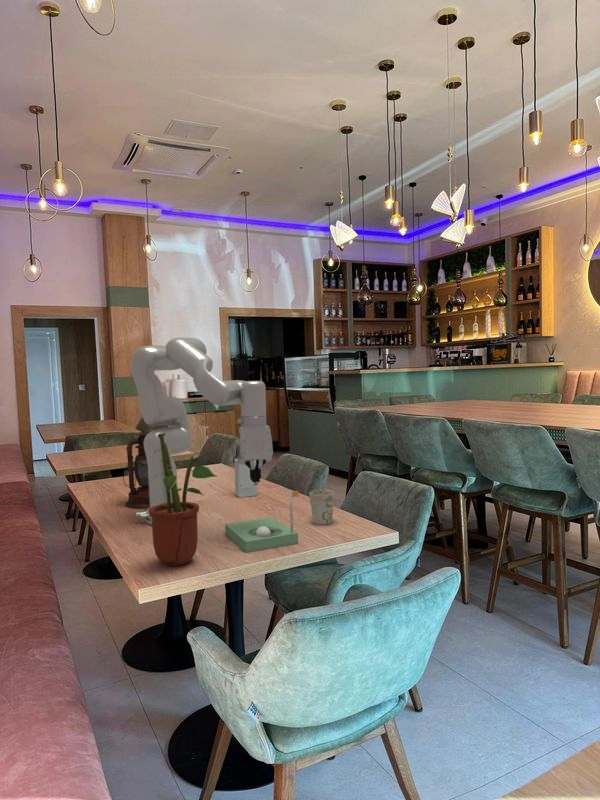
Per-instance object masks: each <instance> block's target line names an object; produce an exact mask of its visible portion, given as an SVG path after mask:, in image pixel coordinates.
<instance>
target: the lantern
mask: <svg viewBox="0 0 600 800" xmlns="http://www.w3.org/2000/svg"><path fill="white" fill-rule="evenodd" d="M149 429H153V430H149ZM154 430H157V429H156V427H154V426H151V427H147V428H145V429H144V430H142V431H141V432H138V433H135V436H137V438H133V439H131V440H129V441H128V443H127V446H126V449H125V450H126V456H127V457H126V458H127V465H126V466H125V468H124V470H123V476H122V479H123V484H124V485H125V486H126V488H129V492H128V500H127V501H126V502H125V504H124V506H125V507H126V508H128V509H133V510H148V508H149V507H150V499H149V477H148V464H147V458H146V454H145V450H144V439H145V437H146V435H147V434H148V433H150V432H151V431H154ZM137 444H138V445H137ZM133 445H136V446H135V447H134V448H135V449H137V453H138V454H136V456H135V458H134V456H133ZM127 469H128V485H127V484H126V482H125V474H126V470H127ZM137 483H138V487H136V485H137Z"/></svg>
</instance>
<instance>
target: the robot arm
mask: <svg viewBox="0 0 600 800" xmlns="http://www.w3.org/2000/svg"><path fill="white" fill-rule="evenodd" d="M207 351H208V350H207V347H206V344H205V343H204V342H203V341H202V340H200V339H199V338H196V337H173V338H172V339H170V340H169V341H168V342H167V343H166V344H165V345H154V344H153V345H144V346H140V347H138V348H137V349H135V351H134V352H133V353H132V355H131V358H130V372H131V376H132V378H133V381H134V384H135V387H136V390H137V395H138V402H139V405H140V410H141V415H142V418H143V421H144V423H145V424H147V425H148V426H151V427H154V426H162V425H166V426H167V427H165V428H159V429H155V430H154V429H153V430H154V431H153V430H150V431H151V432H150V433H148V434H147V435H146V437H145V439H144V450H145V454H146V458H147V464H148V477H149V499H150V507H149V508H148V509H144V511H136V512H135V518H136V519H138V518H139V519H145V523H146V524H147V525H151V526H152V517H151V516H150V515H149V509H150V508H151V507H153V506H156V505H159V504H164V503H167V494H166V487H165V485H164V483H163V479H164V477H165V476H164V467H163V461H161V460H163V459H162V450H161V443H160V439H159V437H158V434H164V433H166V434H165V435H164V443H166V446H167V449H168V452H169V457H170V462H171V467H172V471H173V474H174V476H176V477H177V478H176V485H177V489H179V488H178V471H177V465H176V463H175V461H174V459H173V457H172V456H174V455H178V454H182V453H185V452H187V451H188V450H189V449H190V448H191V446H192V442H193V440H192V439H193V438H192V432H191V431H192V430H191V428H190V422H189V417H188V412H187V410H186V406H185V404H184V403H183V401H182V400H181V399H180V398H179V397H176V396H166V395H165V392H164V388H163V387H164V386H163V384H162V382H161V381H162V380H160V378H159V377H158V375H157V374H156V373H155V371H176V370H180V369H181V370H182V371H183V372H185V373H186V374H187V375H189V377H191V378H192V381H193V384H194V387H195V388H196V389H195V390H196V391H197V392H198V393H199V395H201V396H202V397H204V398H205V399H206V400H207V401H209V403H211V404H213V405H215V406H219V407H223V406H232V405H240V413H241V415H240V418H237V419H236V423H237V424H240V425H241V426H239V427H238V434H237V435H238V436H237V445H236V446H237V450H236V451H237V457H238V458H237V459H238V463H239V464H244V465H246V466H248V468H250V479H251V480H252V482H254V483H256V482H258V483H260V481H261V480H260V479H262V469H263V466H264V465H265V464H266V463H268V462H272V460H273V454H274V449H273V447H274V446H273V441H272V434H271V432H272V431H271V428H270V425H267V398H266V395H267V393H266V392H267V391H266V384H265V382H264V381H262V380H247V381H246V380H239V379H235V380H233V379H231V380H220V379H219V378H217V377H216V376H214V375H213V374H212V373H211V372H212V370H213V369H214V368H213V367H214V361H213V359H212V358H211V357H210V356H208V355H207ZM159 449H160V450H159ZM157 450H158V451H157ZM153 451H154V452H153ZM155 451H156V452H155ZM254 460H256V466H255V465H254ZM159 474H160V475H159ZM157 475H158V476H157ZM170 495H171V502H173V501H172V493H171V490H170Z"/></svg>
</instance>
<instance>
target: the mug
mask: <svg viewBox="0 0 600 800" xmlns="http://www.w3.org/2000/svg"><path fill="white" fill-rule="evenodd" d="M308 494H309V501H310V508H311V514H312V520H313V523H314V524H315V525H320V526H321V525H324V526H325V525H329V524H331V523H333V513H334V505H335V495H336V494H335V491H334V490H331V489H314V490H310V491H309V493H308Z"/></svg>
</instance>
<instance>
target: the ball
mask: <svg viewBox="0 0 600 800" xmlns="http://www.w3.org/2000/svg"><path fill="white" fill-rule="evenodd" d="M255 534H258V535H270V534H271V532H270V530H269V528H267V527H265V526H261V527H259V528H258V529H257V530H256V533H255Z"/></svg>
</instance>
